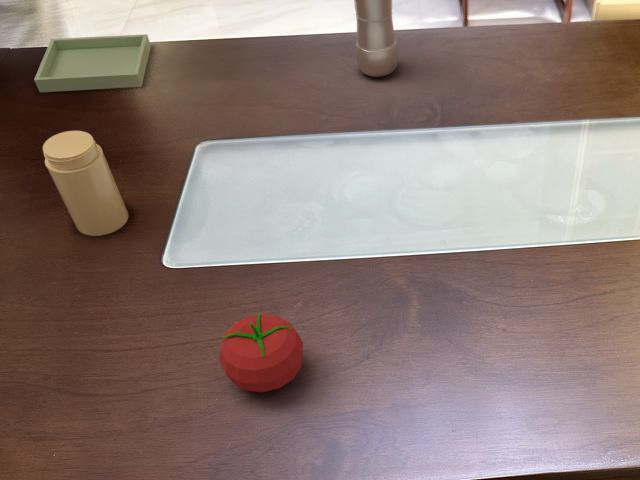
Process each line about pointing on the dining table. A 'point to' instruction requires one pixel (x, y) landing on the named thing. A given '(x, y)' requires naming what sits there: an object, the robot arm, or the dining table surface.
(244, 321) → the tomato
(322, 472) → the dining table surface
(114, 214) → the jam jar
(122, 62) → the tray
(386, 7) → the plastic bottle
